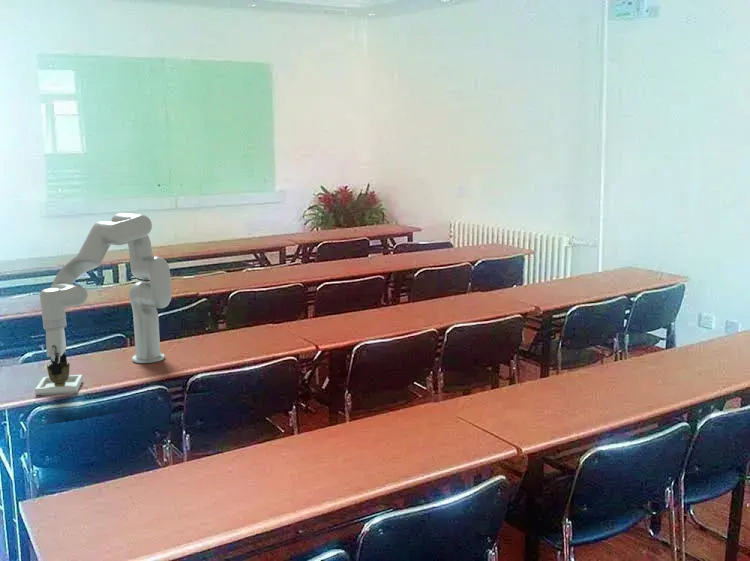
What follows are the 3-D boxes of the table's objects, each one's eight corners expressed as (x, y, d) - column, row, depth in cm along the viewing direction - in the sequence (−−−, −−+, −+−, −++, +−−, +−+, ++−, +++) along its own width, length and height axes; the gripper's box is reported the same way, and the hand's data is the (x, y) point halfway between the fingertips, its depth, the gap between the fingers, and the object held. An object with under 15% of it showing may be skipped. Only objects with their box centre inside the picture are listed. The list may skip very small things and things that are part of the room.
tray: (44, 383, 275) (43, 376, 274) (82, 381, 277) (82, 374, 277) (35, 395, 262) (34, 389, 261) (76, 393, 265) (75, 386, 264)
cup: (44, 387, 268) (42, 366, 266) (61, 381, 274) (59, 360, 273) (58, 391, 264) (56, 369, 263) (75, 385, 271) (74, 363, 269)
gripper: (48, 317, 273) (53, 363, 276) (37, 330, 256) (43, 378, 260) (70, 316, 274) (75, 361, 278) (61, 329, 258) (66, 376, 261)
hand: (59, 369), depth 269 cm, fingers open, 9 cm apart
